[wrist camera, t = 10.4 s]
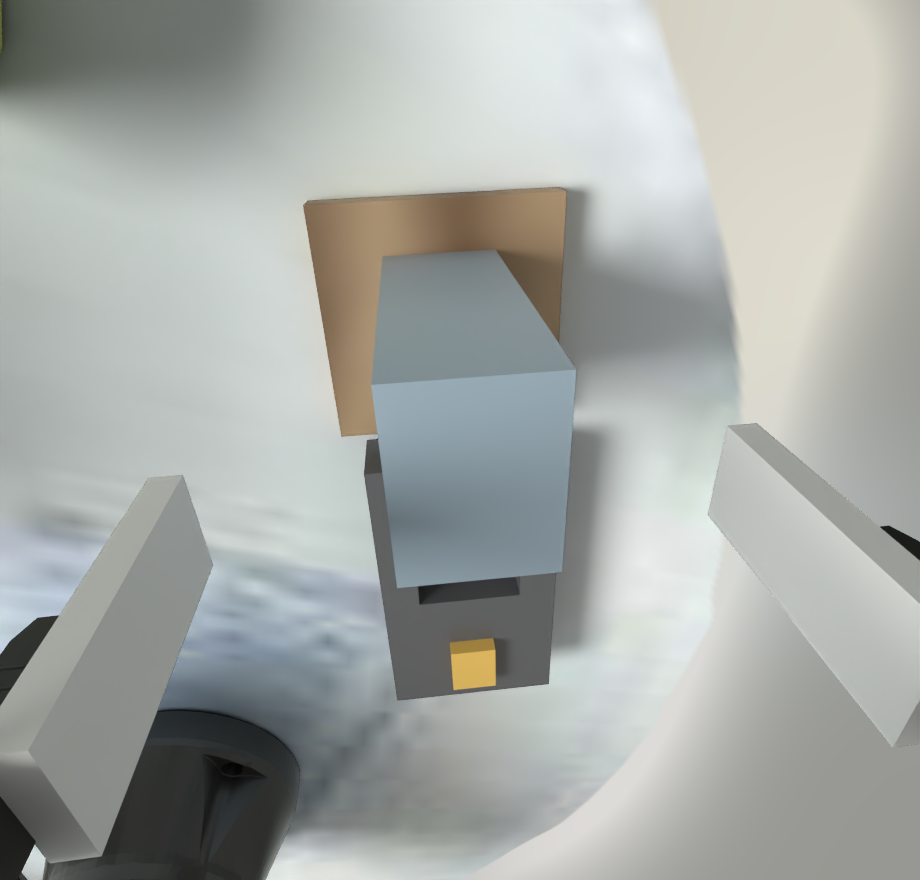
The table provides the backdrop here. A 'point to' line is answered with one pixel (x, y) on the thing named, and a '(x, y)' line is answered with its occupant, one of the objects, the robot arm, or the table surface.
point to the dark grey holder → (459, 620)
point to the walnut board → (421, 232)
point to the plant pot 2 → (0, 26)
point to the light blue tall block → (469, 421)
